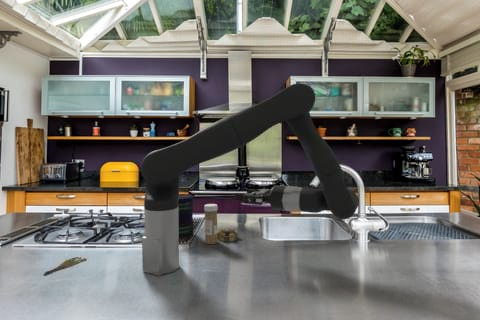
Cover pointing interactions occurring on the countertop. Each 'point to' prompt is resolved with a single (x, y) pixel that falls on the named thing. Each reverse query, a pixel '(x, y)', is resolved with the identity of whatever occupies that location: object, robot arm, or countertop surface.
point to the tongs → (65, 264)
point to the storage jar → (185, 215)
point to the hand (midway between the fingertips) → (241, 194)
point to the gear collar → (222, 234)
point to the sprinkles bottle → (211, 223)
